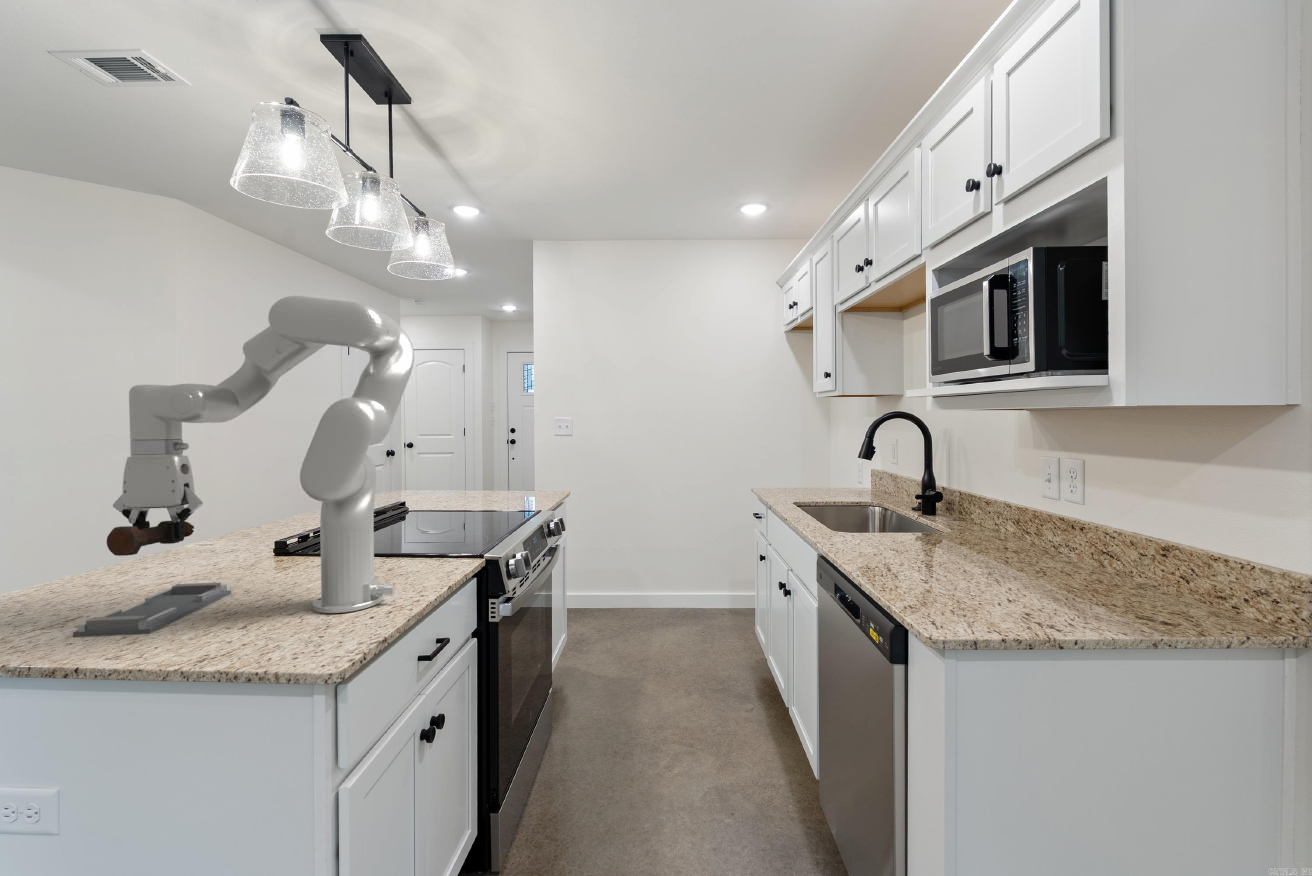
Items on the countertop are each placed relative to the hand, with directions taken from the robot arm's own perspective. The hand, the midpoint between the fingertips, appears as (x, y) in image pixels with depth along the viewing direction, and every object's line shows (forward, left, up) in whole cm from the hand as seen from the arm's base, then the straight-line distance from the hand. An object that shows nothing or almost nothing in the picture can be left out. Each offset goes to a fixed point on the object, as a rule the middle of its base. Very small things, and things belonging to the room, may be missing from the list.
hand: (159, 541), depth 109 cm
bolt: (0, +1, -1) cm, 1 cm away
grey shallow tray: (0, 0, -14) cm, 14 cm away
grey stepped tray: (0, 0, -14) cm, 14 cm away
